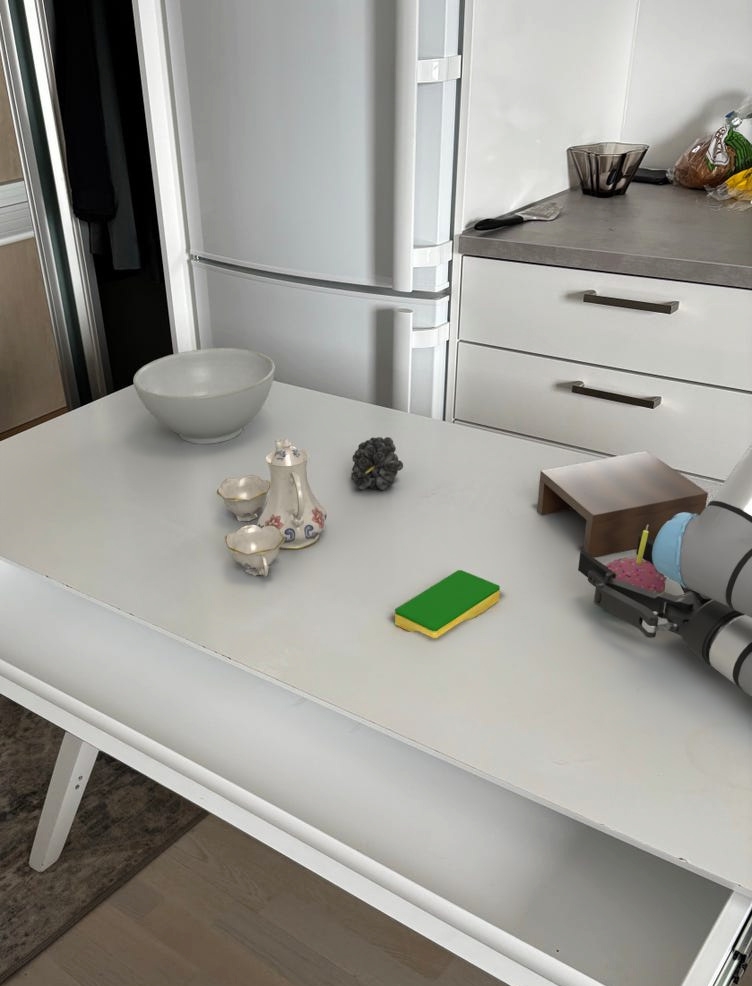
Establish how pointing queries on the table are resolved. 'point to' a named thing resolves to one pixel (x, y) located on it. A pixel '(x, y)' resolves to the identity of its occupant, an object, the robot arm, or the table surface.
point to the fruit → (375, 464)
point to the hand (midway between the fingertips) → (611, 552)
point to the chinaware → (273, 510)
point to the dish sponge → (447, 604)
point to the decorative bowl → (206, 391)
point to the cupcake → (639, 570)
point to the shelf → (619, 498)
